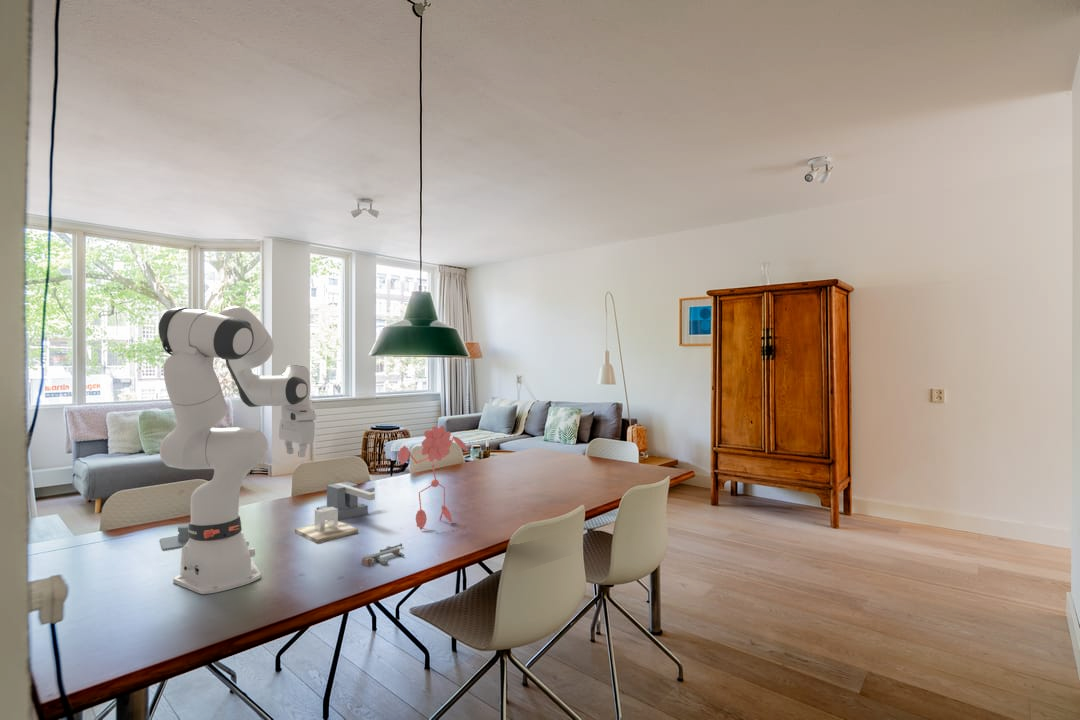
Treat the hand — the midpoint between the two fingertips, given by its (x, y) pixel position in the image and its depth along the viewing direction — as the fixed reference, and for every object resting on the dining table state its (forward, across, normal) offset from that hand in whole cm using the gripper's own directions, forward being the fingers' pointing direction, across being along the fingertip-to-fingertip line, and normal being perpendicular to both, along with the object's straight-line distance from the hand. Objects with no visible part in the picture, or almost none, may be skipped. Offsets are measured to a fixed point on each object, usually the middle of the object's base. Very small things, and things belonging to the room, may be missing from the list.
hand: (295, 455), depth 175 cm
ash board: (+26, +7, +7) cm, 28 cm away
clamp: (+27, +42, +9) cm, 51 cm away
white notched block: (+25, +7, +7) cm, 27 cm away
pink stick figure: (+26, +30, +36) cm, 54 cm away
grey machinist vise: (+26, -2, +24) cm, 35 cm away
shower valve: (+27, -18, -26) cm, 41 cm away
